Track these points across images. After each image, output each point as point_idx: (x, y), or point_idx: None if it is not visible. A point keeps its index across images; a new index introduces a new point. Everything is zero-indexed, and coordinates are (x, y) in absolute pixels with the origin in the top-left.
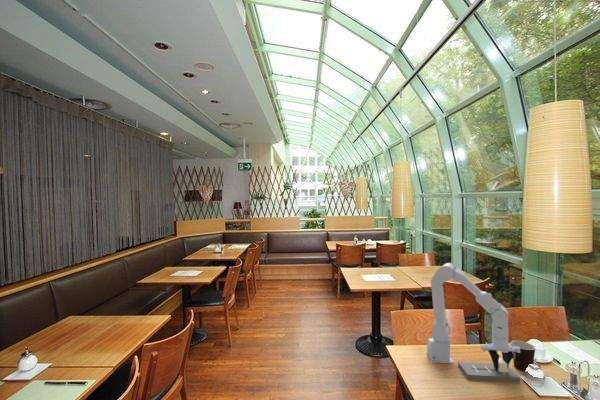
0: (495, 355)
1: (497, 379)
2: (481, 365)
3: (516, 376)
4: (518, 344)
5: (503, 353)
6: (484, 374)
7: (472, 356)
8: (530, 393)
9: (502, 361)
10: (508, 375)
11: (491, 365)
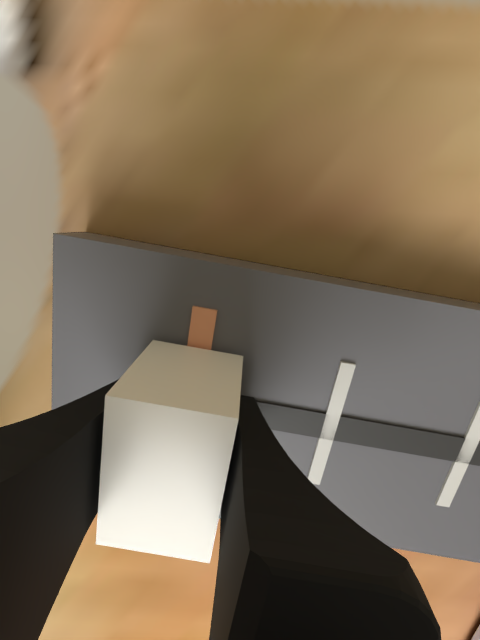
0: (379, 571)
1: (320, 276)
2: (340, 496)
3: (87, 264)
4: None
5: (15, 635)
6: (458, 334)
7: None
8: (106, 9)
9: (141, 465)
10: (173, 291)
11: None
